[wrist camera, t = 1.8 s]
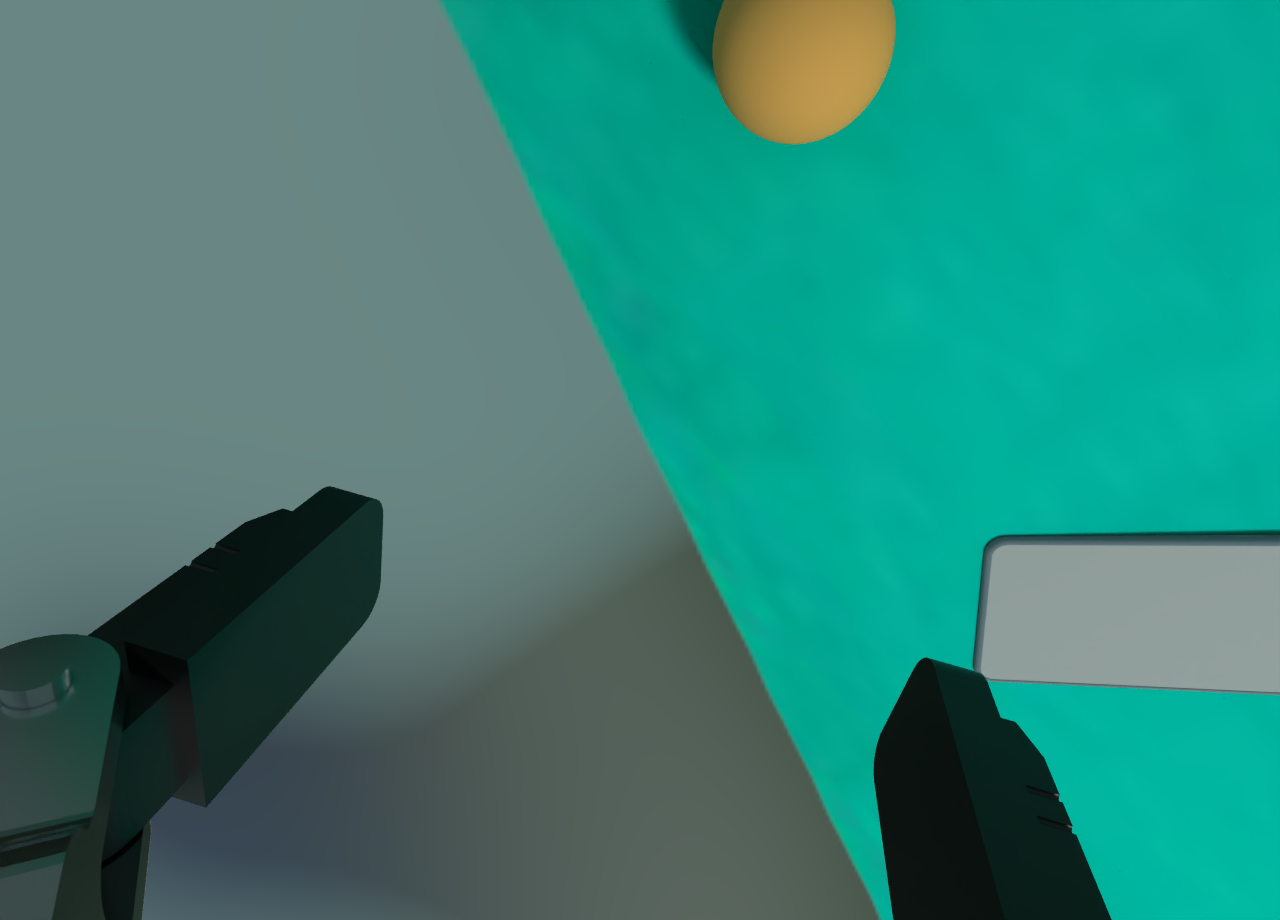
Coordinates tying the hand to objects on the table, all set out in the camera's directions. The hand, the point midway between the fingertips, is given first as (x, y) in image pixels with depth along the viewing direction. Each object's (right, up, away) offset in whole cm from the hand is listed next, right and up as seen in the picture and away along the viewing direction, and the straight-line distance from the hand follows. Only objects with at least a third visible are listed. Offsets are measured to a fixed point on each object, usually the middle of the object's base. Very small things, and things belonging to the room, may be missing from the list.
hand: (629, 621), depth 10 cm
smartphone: (+24, -4, +22) cm, 32 cm away
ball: (+5, +16, +12) cm, 20 cm away
